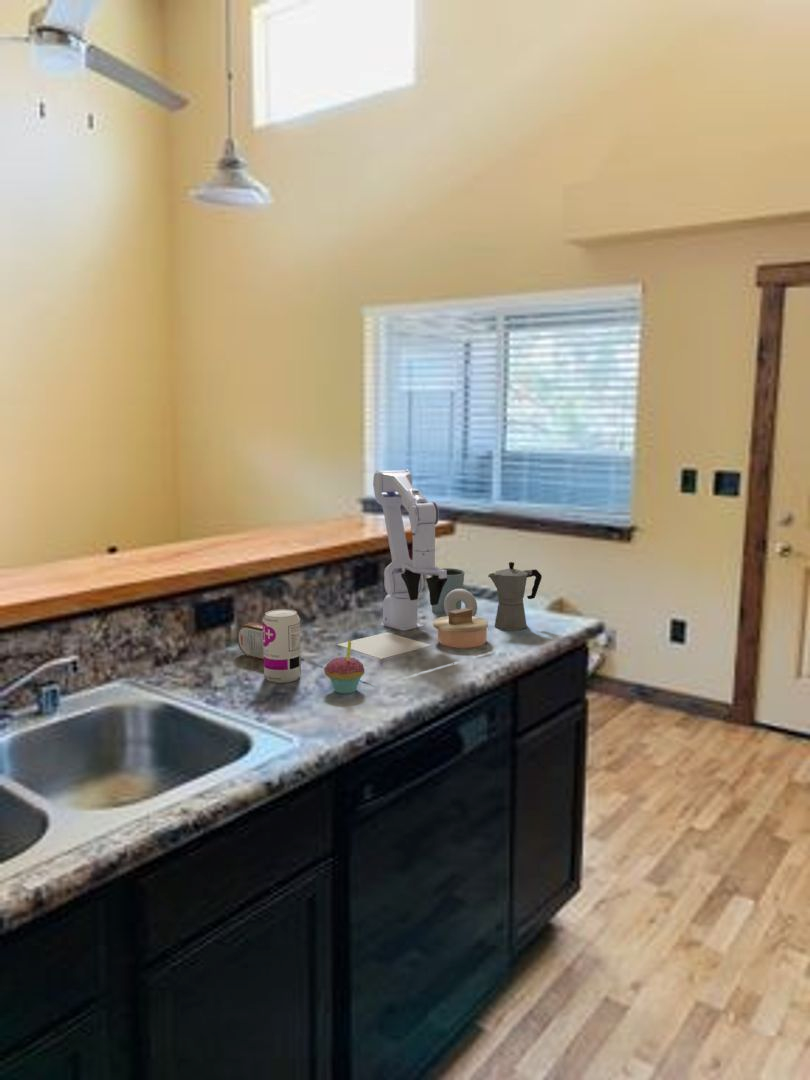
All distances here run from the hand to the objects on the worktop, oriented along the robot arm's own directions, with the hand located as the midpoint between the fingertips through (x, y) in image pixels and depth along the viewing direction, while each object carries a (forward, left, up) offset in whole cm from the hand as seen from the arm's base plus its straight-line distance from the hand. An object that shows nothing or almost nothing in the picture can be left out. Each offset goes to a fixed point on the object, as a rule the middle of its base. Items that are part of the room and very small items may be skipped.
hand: (423, 602), depth 220 cm
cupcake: (+16, -39, -11) cm, 43 cm away
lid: (+8, +5, -6) cm, 11 cm away
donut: (-6, +20, -11) cm, 24 cm away
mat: (-3, -11, -10) cm, 15 cm away
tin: (-16, -39, -11) cm, 43 cm away
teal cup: (-19, +28, -11) cm, 36 cm away
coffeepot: (+6, +29, -11) cm, 32 cm away
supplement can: (0, -44, -11) cm, 45 cm away
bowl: (+8, +6, -11) cm, 15 cm away
